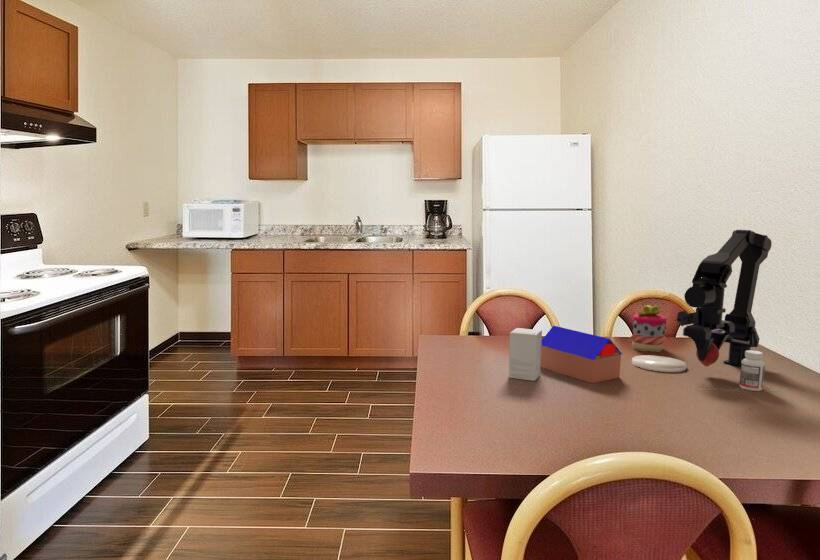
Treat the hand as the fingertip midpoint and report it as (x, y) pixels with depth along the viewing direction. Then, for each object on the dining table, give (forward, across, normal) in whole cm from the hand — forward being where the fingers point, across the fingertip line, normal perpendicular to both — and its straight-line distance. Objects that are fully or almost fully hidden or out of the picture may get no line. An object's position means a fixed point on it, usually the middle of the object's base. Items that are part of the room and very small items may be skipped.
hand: (706, 358), depth 172 cm
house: (+5, +28, -23) cm, 37 cm away
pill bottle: (+5, +3, +13) cm, 15 cm away
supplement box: (+5, +45, -28) cm, 53 cm away
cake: (+5, -16, -27) cm, 32 cm away
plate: (+4, +2, -13) cm, 14 cm away
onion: (+2, 0, 0) cm, 2 cm away
